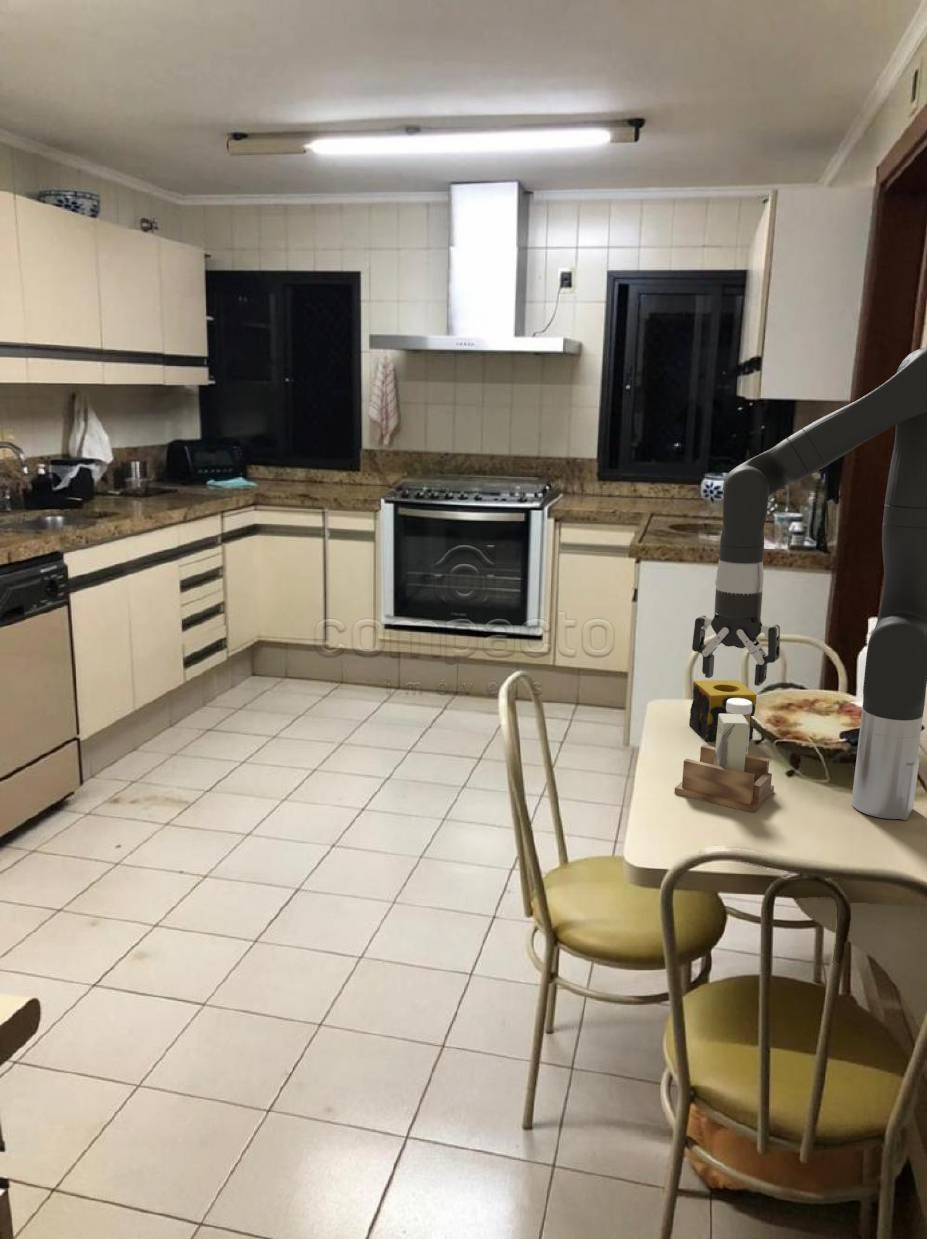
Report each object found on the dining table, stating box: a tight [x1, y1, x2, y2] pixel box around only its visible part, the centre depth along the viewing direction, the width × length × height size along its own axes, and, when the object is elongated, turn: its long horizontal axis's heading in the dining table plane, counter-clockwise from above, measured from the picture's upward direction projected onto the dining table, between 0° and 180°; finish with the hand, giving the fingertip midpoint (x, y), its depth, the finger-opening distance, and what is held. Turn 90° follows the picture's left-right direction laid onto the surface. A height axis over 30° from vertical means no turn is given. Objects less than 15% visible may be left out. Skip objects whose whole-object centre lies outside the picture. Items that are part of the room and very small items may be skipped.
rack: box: [673, 744, 775, 814], centre depth 168 cm, size 14×11×6 cm
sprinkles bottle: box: [726, 698, 752, 755], centre depth 177 cm, size 5×5×14 cm
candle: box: [688, 679, 758, 742], centre depth 197 cm, size 10×10×10 cm
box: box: [714, 714, 749, 772], centre depth 166 cm, size 5×4×13 cm
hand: (733, 680), depth 164 cm, fingers open, 8 cm apart
